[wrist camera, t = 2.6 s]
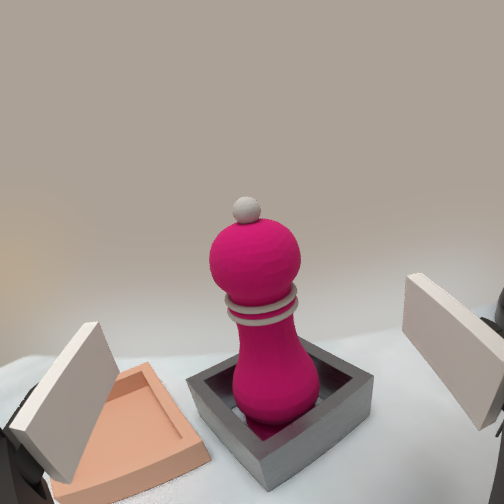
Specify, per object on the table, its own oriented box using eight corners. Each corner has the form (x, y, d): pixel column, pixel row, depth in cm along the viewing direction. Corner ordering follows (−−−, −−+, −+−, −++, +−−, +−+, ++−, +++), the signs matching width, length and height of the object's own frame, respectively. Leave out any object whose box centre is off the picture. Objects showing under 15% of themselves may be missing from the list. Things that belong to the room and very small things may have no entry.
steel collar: (289, 365, 33) (285, 328, 32) (369, 414, 24) (373, 375, 22) (199, 415, 28) (185, 379, 26) (268, 492, 18) (258, 461, 17)
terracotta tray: (156, 381, 33) (148, 361, 33) (211, 460, 22) (202, 440, 21) (54, 420, 27) (42, 402, 26) (73, 514, 15) (53, 498, 14)
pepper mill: (227, 432, 25) (163, 213, 19) (268, 386, 31) (232, 189, 24) (298, 459, 21) (263, 209, 15) (333, 403, 27) (319, 183, 20)
